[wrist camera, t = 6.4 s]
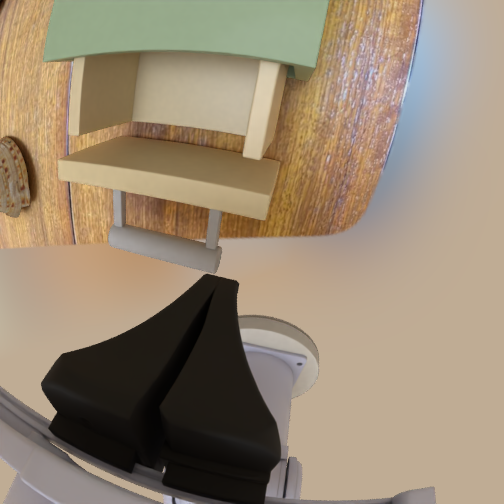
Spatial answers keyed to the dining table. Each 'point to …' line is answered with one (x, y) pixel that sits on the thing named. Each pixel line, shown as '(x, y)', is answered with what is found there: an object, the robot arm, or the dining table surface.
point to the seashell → (12, 179)
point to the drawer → (172, 153)
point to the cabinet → (191, 29)
